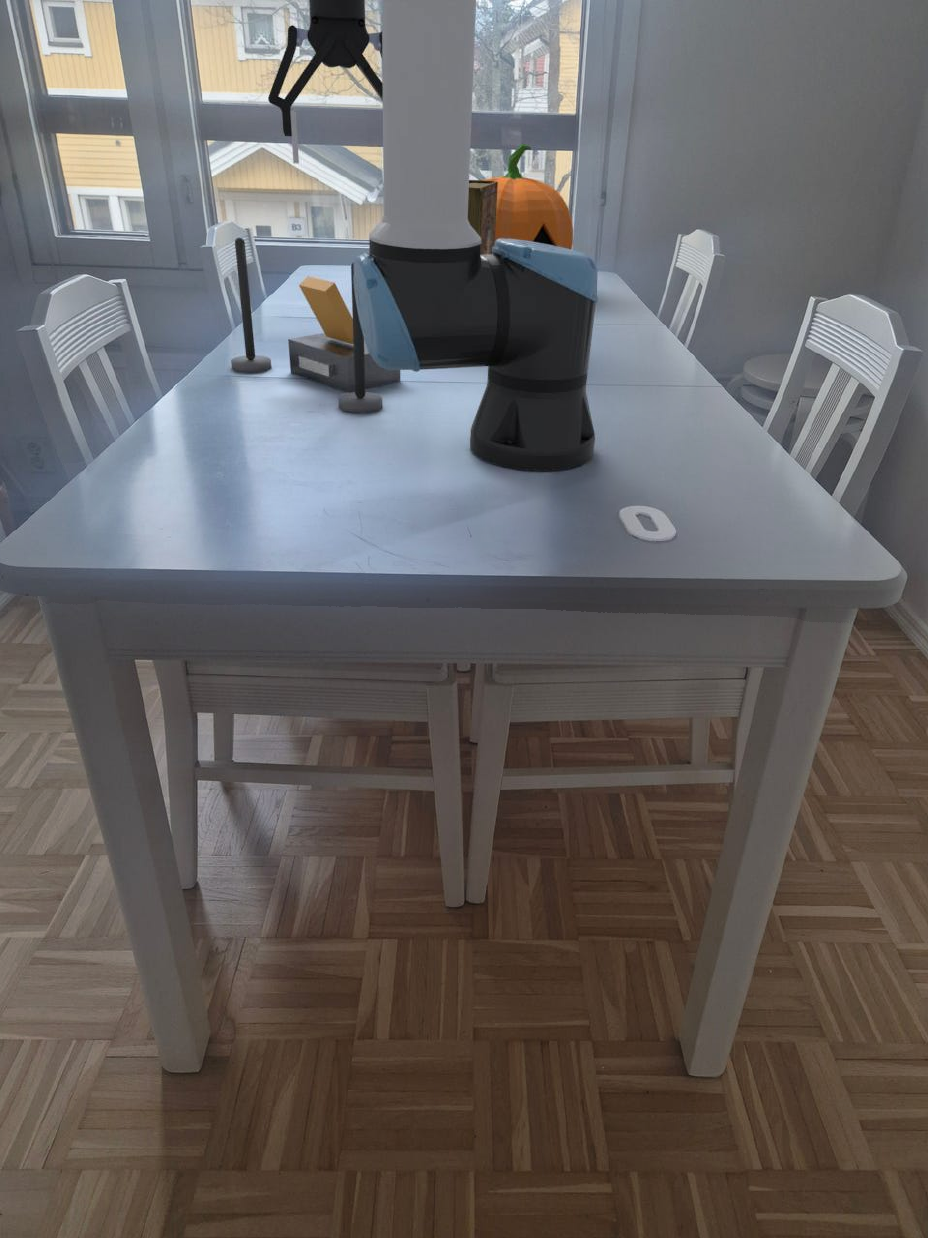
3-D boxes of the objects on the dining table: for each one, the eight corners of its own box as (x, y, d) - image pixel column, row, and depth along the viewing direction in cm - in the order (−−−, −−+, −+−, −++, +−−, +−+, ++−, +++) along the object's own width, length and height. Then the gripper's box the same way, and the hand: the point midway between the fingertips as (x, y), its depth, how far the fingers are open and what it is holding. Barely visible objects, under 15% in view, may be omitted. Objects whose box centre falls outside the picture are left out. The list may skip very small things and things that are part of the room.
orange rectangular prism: (355, 348, 123) (325, 291, 116) (327, 340, 127) (297, 284, 119) (363, 339, 124) (335, 282, 116) (336, 331, 127) (307, 275, 120)
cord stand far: (273, 372, 129) (262, 240, 119) (232, 373, 127) (218, 240, 117) (269, 362, 133) (258, 234, 124) (230, 363, 132) (216, 234, 122)
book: (463, 325, 162) (468, 179, 149) (491, 327, 161) (499, 180, 148) (445, 344, 148) (448, 185, 135) (475, 346, 147) (482, 187, 134)
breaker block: (344, 393, 120) (343, 358, 117) (286, 373, 128) (283, 339, 126) (400, 380, 127) (400, 346, 124) (341, 362, 135) (340, 329, 132)
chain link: (658, 510, 89) (613, 510, 88) (659, 505, 88) (614, 505, 88) (681, 543, 82) (633, 544, 82) (682, 538, 82) (633, 538, 81)
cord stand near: (386, 412, 114) (384, 264, 104) (342, 414, 112) (336, 265, 102) (377, 399, 118) (375, 257, 109) (335, 401, 117) (329, 257, 107)
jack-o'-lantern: (429, 297, 184) (431, 140, 169) (466, 278, 207) (471, 138, 192) (554, 309, 178) (568, 147, 162) (577, 288, 201) (592, 144, 185)
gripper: (423, -6, 118) (422, 164, 129) (242, -18, 114) (256, 160, 124) (432, -13, 112) (430, 167, 123) (240, -26, 107) (255, 162, 118)
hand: (342, 164), depth 124 cm, fingers open, 13 cm apart
